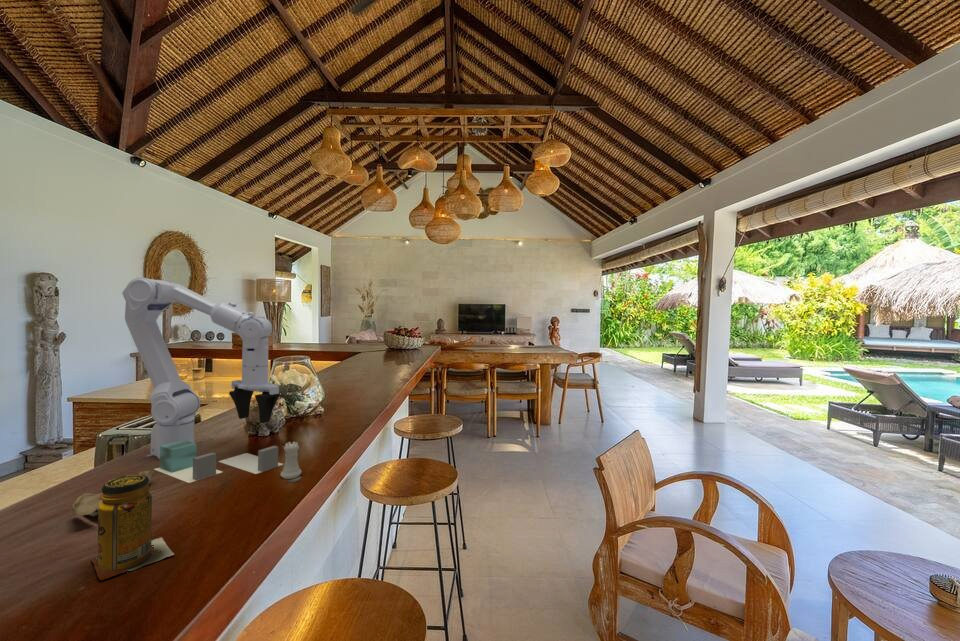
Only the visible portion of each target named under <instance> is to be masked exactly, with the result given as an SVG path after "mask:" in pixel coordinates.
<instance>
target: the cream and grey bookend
mask: <svg viewBox="0 0 960 641" xmlns="http://www.w3.org/2000/svg"><path fill="white" fill-rule="evenodd" d="M218 463H221V464H224V465H227V466H230V467H233V468H236V469H239V470H242V471H245V472H248V473H250V474H254V475H257V474H260V473H261V474H262V473H264V472H266V471H269V470H272V469H275V468H277V467H280V466H283V465H284V463H281V462H279V446H277V445H271V446H269V447H265V448H262V449H259V450H257V455H254V454H251V453H248V452H246V453H242V454H238V455H235V456H232V457H228V458H224V459H221V460H218Z"/></svg>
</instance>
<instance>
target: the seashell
mask: <svg viewBox="0 0 960 641" xmlns="http://www.w3.org/2000/svg"><path fill="white" fill-rule="evenodd" d="M153 474H154V471H153V470H144V471H143V470H142V471H139V472H138V474H137V475H145V476H147V477H148V478H149V484H151V481H152V478H153ZM101 502H102V492H101V493H83V494H82V495H79V496H78V497H77V498H76V500H75V501H74V502H73V503H72V505H71V507H72V509H73V511H74V512H75V515H77V516H86V515H87V516H90V517H98V509H99V505H100V503H101Z"/></svg>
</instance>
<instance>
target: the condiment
mask: <svg viewBox="0 0 960 641" xmlns="http://www.w3.org/2000/svg"><path fill="white" fill-rule="evenodd" d="M149 485H150V483H149V478H148V477H147V476H145V475H138V474H128V475H123V476H119V477H115V478H113V479H110V480H108V481H107V482H105V483H104V484H103V486H102V488H101V493H102V502H101V503H100V505H99V509H98V515H97V517H98V518H97V520H98V521H97V524H98V526H97V558H98V564H99V566H100V568H101V569H102V570H104V571H105V570H106V571H117V570H126V569H128V571H130V572H131V571H135V570H137V569H140V568H142V567H144V566H146V565H150V564H153V563H155V562H159V561H162V560H163V559H165V558H168V557H171V556H174V555H175V553H174V552H173V551H172V550H171V549H170V547H169V546H168V545H167V543H166V541H165V540H164V538H163V537H162V536H161V537H159V538H154V539H152V531H153V530H152V529H153V528H152V526H153V525H152V523H153V521H152V519H153V517H152V516H153V514H152V513H153V495H152V493H151V492H150V486H149ZM151 545H154V546H152V547H154V549H151ZM157 550H158V551H157ZM160 551H161V553H158V552H160ZM151 552H154V553H155V555H154V553H153V554H152V553H151ZM152 556H153V557H152Z"/></svg>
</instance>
